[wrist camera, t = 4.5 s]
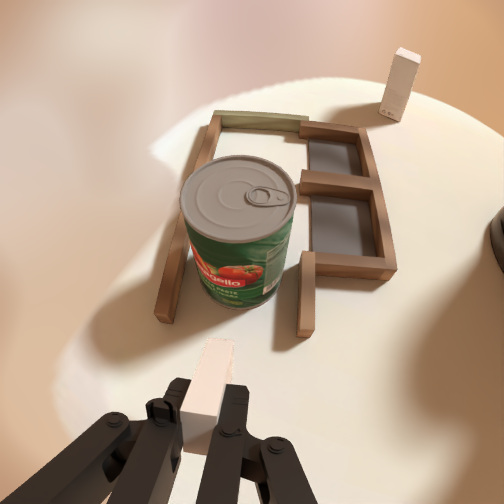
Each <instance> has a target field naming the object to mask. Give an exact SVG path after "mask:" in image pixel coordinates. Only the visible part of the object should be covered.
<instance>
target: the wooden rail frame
mask: <svg viewBox="0 0 504 504" xmlns="http://www.w3.org/2000/svg"><path fill="white" fill-rule="evenodd" d="M222 127H232V128H252V129H268V130H280V131H292V132H299V138H301V139H308V143H309V161H310V170H304V169H302V172H301V178H300V195H305V196H311V215H312V251H302V254H301V257H300V261H299V285H298V313H297V336H296V337H309V338H310V337H311V335H312V333H313V332H314V330H315V275H322V276H335V277H349V278H362V279H376V280H390V279H391V277H392V276H393V275H394V274H395V272H396V271H397V263H396V257H395V251H394V245H393V240H392V234H391V229H390V224H389V219H388V214H387V209H386V205H385V200H384V196H383V191H382V187H381V183H380V179H379V175H378V171H377V167H376V163H375V160H374V156H373V152H372V149H371V145H370V142H369V139H368V135H367V132H366V129H364V128H358V127H352V126H345V125H338V124H331V123H324V122H316V121H309V116H301V115H291V114H280V113H267V112H250V111H224V110H214V113H213V116H212V119H211V121H210V124H209V127H208V130H207V132H206V135H205V138H204V141H203V144H202V147H201V150H200V152H199V155H198V158H197V161H196V164H195V167H194V170H193V172H194V171H195V170H196V169H197V168H199V167H200V166H202V165H203V164H205V163H207V162H209V161H212V160H213V157H214V153H215V150H216V146H217V143H218V139H219V136H220V133H221V129H222ZM189 248H190V240H189V238H188V233H187V229H186V226H185V221H184V217H183V214H182V211H181V212H180V215H179V219H178V222H177V225H176V229H175V232H174V236H173V239H172V243H171V247H170V250H169V254H168V258H167V261H166V265H165V269H164V273H163V277H162V281H161V285H160V289H159V293H158V297H157V301H156V305H155V310H154V314H155V316H156V317H157V318H158V320H159V321H160V322H163V323H170V324H173V320H174V315H175V310H176V305H177V301H178V296H179V291H180V287H181V282H182V278H183V273H184V269H185V265H186V260H187V256H188V252H189Z"/></svg>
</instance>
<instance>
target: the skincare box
mask: <svg viewBox="0 0 504 504" xmlns="http://www.w3.org/2000/svg"><path fill="white" fill-rule="evenodd" d="M420 60H421V56H420V55H418V54H416V53H413V52H411V51H408V50H406V49H404V48H401V47H400V48H399V49H398V50H397V52H396V53H395V55H394V59H393V62H392V66H391V70H390V74H389V77H388V81H387V85H386V88H385V91H384V95H383V98H382V102H381V105H380V108H379V112H378V113H380V114H382V115H384V116H387V117H389V118H392V119H394V120H396V121H398V122H400V121H401V118H402V115H403V113H404V110H405V107H406V105H407V102H408V99H409V96H410V93H411V90H412V87H413V84H414V81H415V78H416V75H417V71H418V68H419V65H420Z"/></svg>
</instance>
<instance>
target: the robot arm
mask: <svg viewBox="0 0 504 504" xmlns="http://www.w3.org/2000/svg"><path fill="white" fill-rule="evenodd" d="M490 235H491V242H492V246H493V249H494V252H495V255H496V258H497V260H498V262H499V264H500V266H501V268H502V270H503V272H504V207H502V208H501V209H500V211H499V212H498V213H497V215H496V216H495V217H494V218H493V220H492V223H491V228H490ZM233 350H234V340H225V339H216V338H208V340H207V342H206V345H205V347H204V350H203V352H202V355H201V357H200V360H199V363H198V365H197V368H196V370H195V373H194V375H193V378H192V380H190V379H183V378H176V379H174V380H173V381H172V382H170V384H169V387H168V389H167V391H166V393H165V395H164V397H163V398H156V399H152V400H150V401H148V402H147V403H146V411H147V417H148V419H146V420H140V421H129V419H128V417H127V416H126V415H124V414H123V413H119V412H110V413H107V414H105V415H103V416H102V417H101V418H100V419H99V420H97V421H96V422H95V423H94V424H93V425H92V426H91V427H89V428H88V429H87V430H86V431H85V432H84V433H82V434H81V435H80V436H79V437H78V438H77V439H75V440H74V441H73V442H72V443H71V444H70V445H68V446H67V447H66V448H65V449H64V450H63V451H61V452H60V453H59V454H58V455H57V456H56V457H54V458H53V459H52V460H51V461H50V462H49V463H47V464H46V465H45V466H44V467H43V468H41V469H40V470H39V471H38V472H37V473H36V474H34V475H33V476H32V477H31V478H29V479H28V480H27V481H26V482H25V483H23V484H22V485H21V486H20V487H18V488H17V489H16V490H15V491H14V492H12V493H11V494H10V495H9V496H7V497H6V498H5V499H4V500H3V501H1V502H0V504H101V503H102V502H103V501H104V499H105V498H106V497H107V496H108V495H109V494H110V493H111V492H112V493H111V495H110V497H109V499H108V502H107V504H168V501H169V497H170V494H171V491H172V488H173V484H174V481H175V478H176V475H177V471H178V468H179V465H180V462H181V450H182V447H183V452H188V453H194V454H200V455H206V456H207V458H206V462H205V466H204V470H203V475H202V479H201V483H200V487H199V491H198V496H197V500H196V504H237V502H238V494H239V486H240V478H241V477H242V478H244V479H247V480H250V481H253V482H255V485H256V489H257V493H258V496H259V500H260V504H318V503H317V501H316V499H315V496H314V494H313V492H312V490H311V487H310V485H309V483H308V480H307V478H306V476H305V473H304V471H303V468H302V466H301V464H300V461H299V459H298V457H297V454H296V452H295V449H294V447H293V445H292V444H291V442H290V441H289V440H287V439H285V438H282V437H269V438H266V439H265V440H261V439H258V438H255V437H253V436H252V435H250V434H249V432H248V431H247V429H246V422H247V413H248V402H249V391H248V389H247V387H246V386H243V385H233V384H231V380H232V367H233Z"/></svg>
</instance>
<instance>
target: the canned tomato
mask: <svg viewBox="0 0 504 504" xmlns="http://www.w3.org/2000/svg"><path fill="white" fill-rule="evenodd" d="M296 201H297V194H296V188H295V185H294V183H293V181H292V179H291V178H290V177H289V175H288V174H287V173H286V172H285V171H284V170H283V169H282V168H281V167H279V166H277V165H276V164H274V163H273V162H270V161H268V160H266V159H263V158H259V157H255V156H248V155H231V156H225V157H221V158H217V159H214V160H212V161H209V162H207V163H205V164H203V165H202V166H200V167H199V168H197V169H196V170H195V171H194V172H193V173H192V174H191V175H190V176H189V177H188V178H187V180H186V181H185V182H184V184H183V187H182V189H181V193H180V209H181V211H182V214H183V217H184V221H185V226H186V229H187V233H188V238H189V240H190V244H191V248H192V251H193V255H194V259H195V262H196V266H197V270H198V273H199V276H200V281H201V284H202V287H203V289H204V291H205V292H206V294H207V295H208V296H209V297H210V298H211V299H212V300H213V301H214V302H216V303H217V304H219V305H221V306H224V307H226V308H229V309H235V310H246V309H251V308H255V307H257V306H260V305H262V304H264V303H265V302H267V301H268V300H269V299H270V298H271V297H272V296H273V295H274V294H275V293H276V291H277V290H278V288H279V286H280V283H281V281H282V274H283V268H284V263H285V258H286V253H287V248H288V242H289V237H290V232H291V227H292V222H293V214H294V210H295V207H296Z"/></svg>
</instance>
